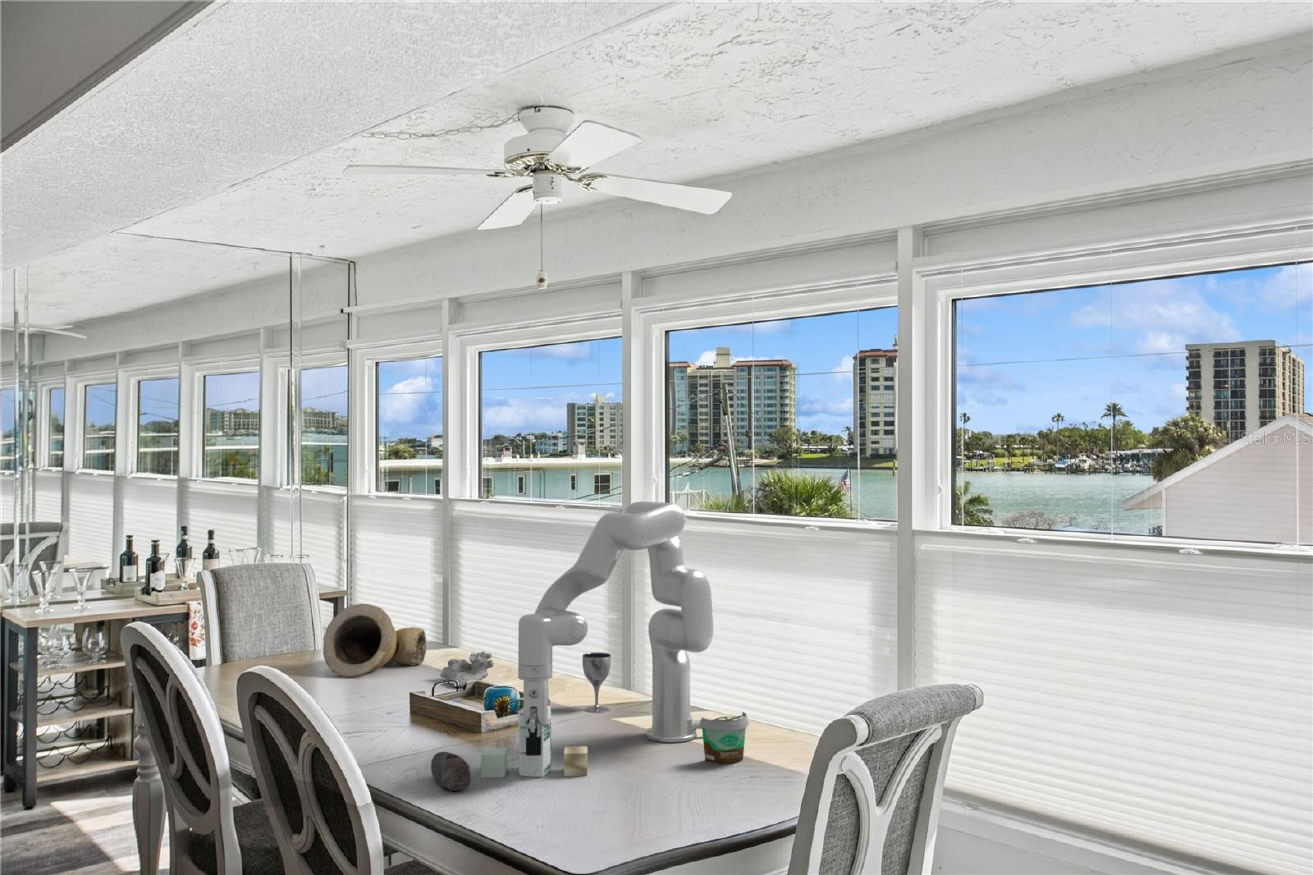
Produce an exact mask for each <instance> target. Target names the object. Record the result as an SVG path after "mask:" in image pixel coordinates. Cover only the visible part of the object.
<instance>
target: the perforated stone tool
mask: <svg viewBox="0 0 1313 875" xmlns="http://www.w3.org/2000/svg"><path fill="white" fill-rule="evenodd" d="M430 768H431V774H432V777H433V778H434V780H435V781H436V782H437V783H438V784H439V785H440V786H441V787H442V788H444V789H448V790H449V791H450V792H451V791H452V792H458V791H462V790H465V789H467V788H468V787H469V785H470V784H471V779H472V776H471V775H472V773H471V769H470V765H469V764H468V762H467V761H466V760H465V759H464V758H463V757H462V756H460V755H458V754H455V753H453V752H449V751H439V752H437V753H435V754H434V755H433V757H432V759H431V761H430Z"/></svg>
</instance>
